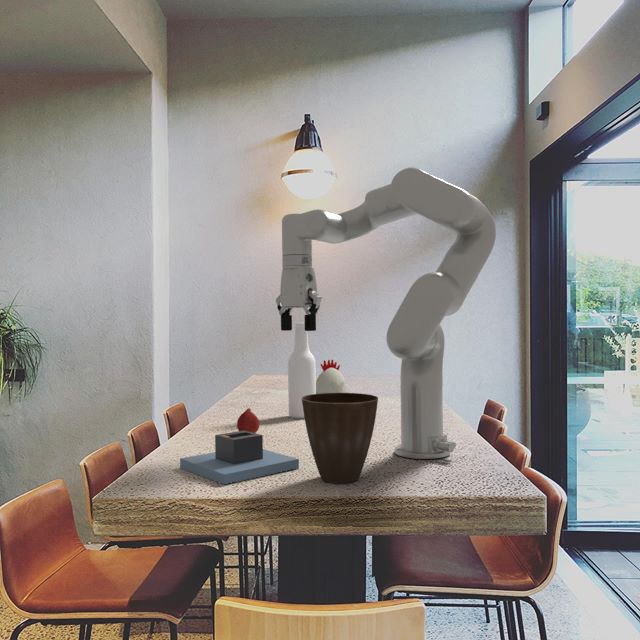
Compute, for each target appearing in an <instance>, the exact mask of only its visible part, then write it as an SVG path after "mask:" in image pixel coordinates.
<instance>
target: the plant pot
mask: <svg viewBox="0 0 640 640" xmlns="http://www.w3.org/2000/svg"><path fill="white" fill-rule="evenodd" d="M378 402H379V396H377V395H374V394H368V393H359V392H357V393H356V392H349V393H320V394H312V395H307V396H304V397H302V405H303V411H304V418H305V419H304V422H305V423H304V424H305V429H306V433H307V437H308V441H309V445H310V446H309V447H310V448H311V449H310V450H311V453H312V456H313V459H314V462H315V466H316V468H317V471H318V474H319V476H320V478H321V480H322V481H323V480H324V481H323V482H326V481H327V482H326V483H329V482H332V483H331V484H349V482H351V483H354V481H355V482H357V481H359V479H360V477H361V475H362V471H363V469H364V465H365V463H366V459H367V456H368V453H369V449H370V445H371V441H372V438H373V432H374V428H375V424H376V418H377V411H378V410H377V409H378Z"/></svg>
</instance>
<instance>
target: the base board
mask: <svg viewBox="0 0 640 640" xmlns="http://www.w3.org/2000/svg"><path fill="white" fill-rule="evenodd" d="M179 464H180V465H179V467H180V469H182V470H184V471H188V472H190V473H192V474H196V475H199V476H201V477H203V478H206V479H208V478H209V480H211V479H212V480H211V481H213V480H215V481H214V482H216V481H217V482H216V483H219V482H220V483H219V484H221V483H223V484H222V485H224V484H227V485H229V484H228V483H231V484H233V483H232V482H236V483H238V482H237V481H240V482H244V481H243V480H245V481H248V480H247V479H249V480H252V478H254V479H257V478H256V477H258V478H262V477H261V476H263V477H266V476H265V475H267V476H270V474H272V475H274V474H273V473H276V474H278V473H277V472H281V471H285V472H287V471H286V470H290V469H294V470H296V469H295V468H299V469H300V460H299V458H297V457H293V456H289V455H286V454H281V453H279V452H274V451H272V450H271V451H270V450H268V449H264V448H263V459H259V460H254V461H249V462H244V463H239V464H231V463H228V462H224V461H221V460H218V459H216V458H215V451H214V452H209V453H203V454H197V455H193V456H187V457H186V456H185V457H181V458H179ZM290 471H291V470H290ZM281 473H282V472H281Z"/></svg>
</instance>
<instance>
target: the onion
mask: <svg viewBox="0 0 640 640" xmlns="http://www.w3.org/2000/svg"><path fill="white" fill-rule="evenodd" d="M259 420H260V419H259V417H258V416H257V414H255V413H254V412H252V409H251V407H248V408H247V409H246V410H245V411H244V412H242V413H241V415H239V417H238V419H237V421H236V429H237V430H238V431H248V432H252V433H256V434H257V432H258V431H259V429H260V421H259Z"/></svg>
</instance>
